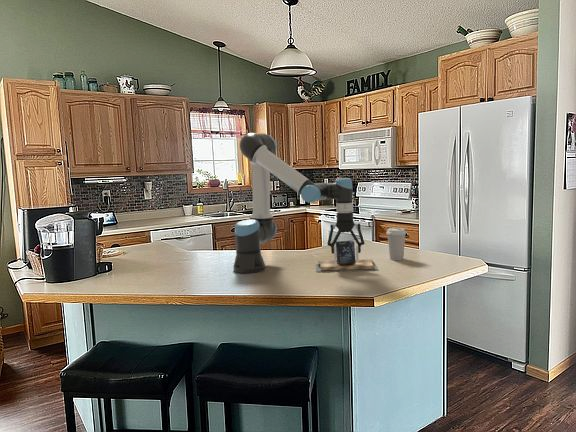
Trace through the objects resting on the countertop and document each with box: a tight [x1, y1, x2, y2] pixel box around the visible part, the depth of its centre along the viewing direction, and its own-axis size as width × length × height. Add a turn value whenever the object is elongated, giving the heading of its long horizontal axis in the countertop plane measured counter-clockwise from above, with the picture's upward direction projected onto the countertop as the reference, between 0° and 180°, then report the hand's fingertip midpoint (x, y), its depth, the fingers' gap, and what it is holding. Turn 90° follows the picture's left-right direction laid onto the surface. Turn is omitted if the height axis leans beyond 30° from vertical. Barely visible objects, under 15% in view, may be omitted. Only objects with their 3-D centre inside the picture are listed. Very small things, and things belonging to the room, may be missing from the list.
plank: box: [320, 262, 374, 270], centre depth 203 cm, size 24×8×2 cm, turn 86°
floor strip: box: [317, 258, 375, 267], centre depth 210 cm, size 26×6×2 cm, turn 86°
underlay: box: [315, 262, 379, 273], centre depth 206 cm, size 28×15×1 cm, turn 86°
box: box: [335, 240, 357, 265], centre depth 203 cm, size 8×6×11 cm
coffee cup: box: [385, 227, 407, 261], centre depth 218 cm, size 10×10×15 cm
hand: (346, 260), depth 203 cm, fingers open, 10 cm apart
